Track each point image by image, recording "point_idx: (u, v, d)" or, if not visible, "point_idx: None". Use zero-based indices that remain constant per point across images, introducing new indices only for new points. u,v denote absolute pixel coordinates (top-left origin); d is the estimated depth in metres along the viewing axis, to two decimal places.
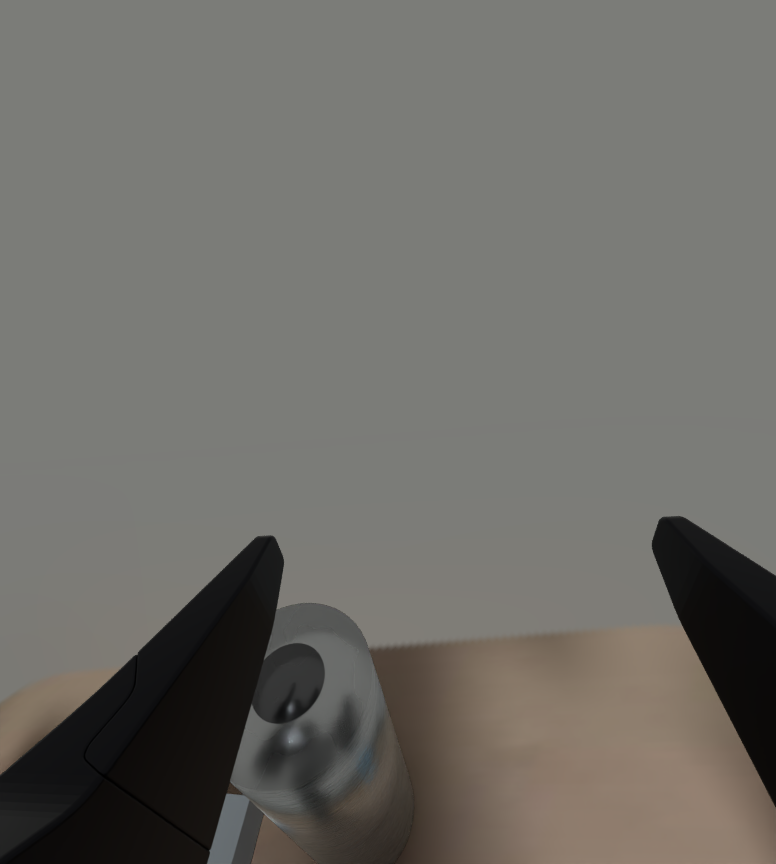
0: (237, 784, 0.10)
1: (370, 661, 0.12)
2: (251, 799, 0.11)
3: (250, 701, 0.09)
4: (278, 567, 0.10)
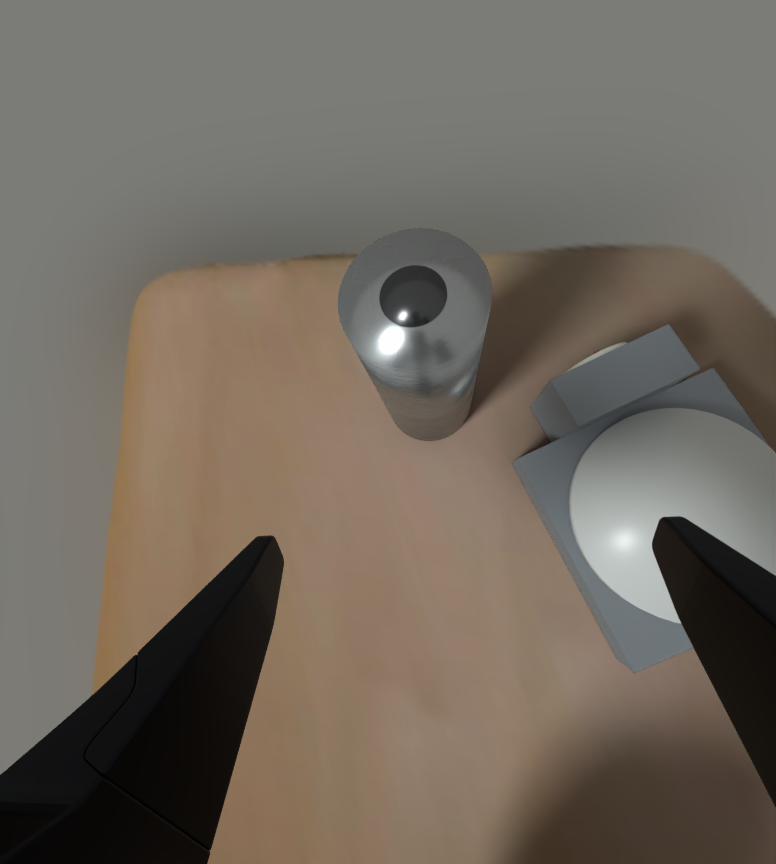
0: None
1: None
2: None
3: (250, 700, 0.09)
4: (278, 567, 0.10)
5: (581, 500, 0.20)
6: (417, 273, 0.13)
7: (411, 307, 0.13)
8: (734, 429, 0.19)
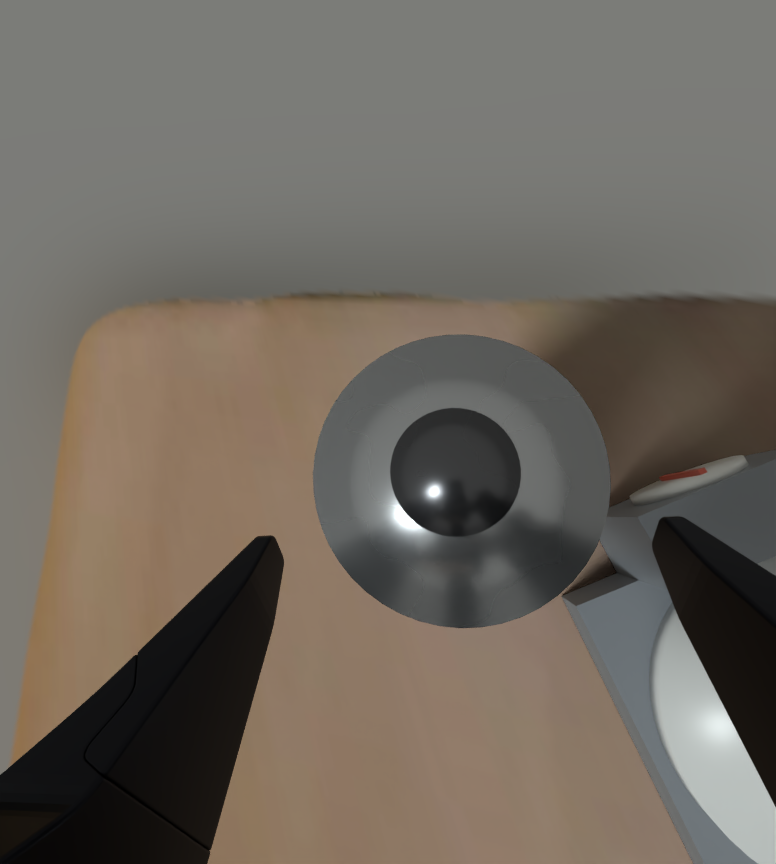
0: None
1: None
2: None
3: (250, 701, 0.09)
4: (278, 567, 0.10)
5: (674, 687, 0.14)
6: (463, 425, 0.07)
7: (450, 494, 0.07)
8: None
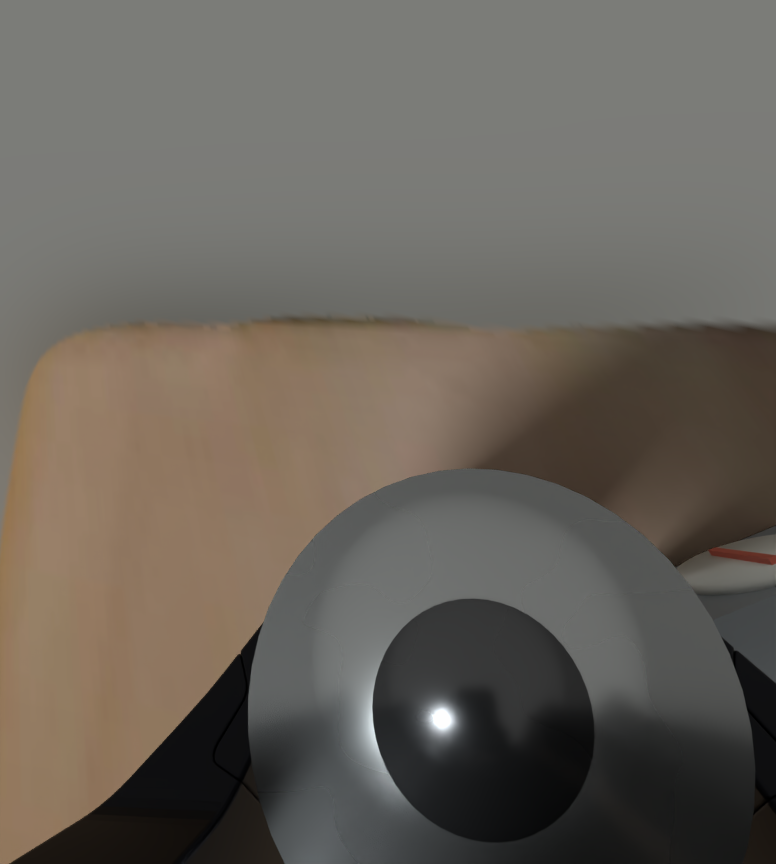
0: None
1: None
2: None
3: None
4: None
5: None
6: (493, 631, 0.04)
7: (472, 759, 0.04)
8: None
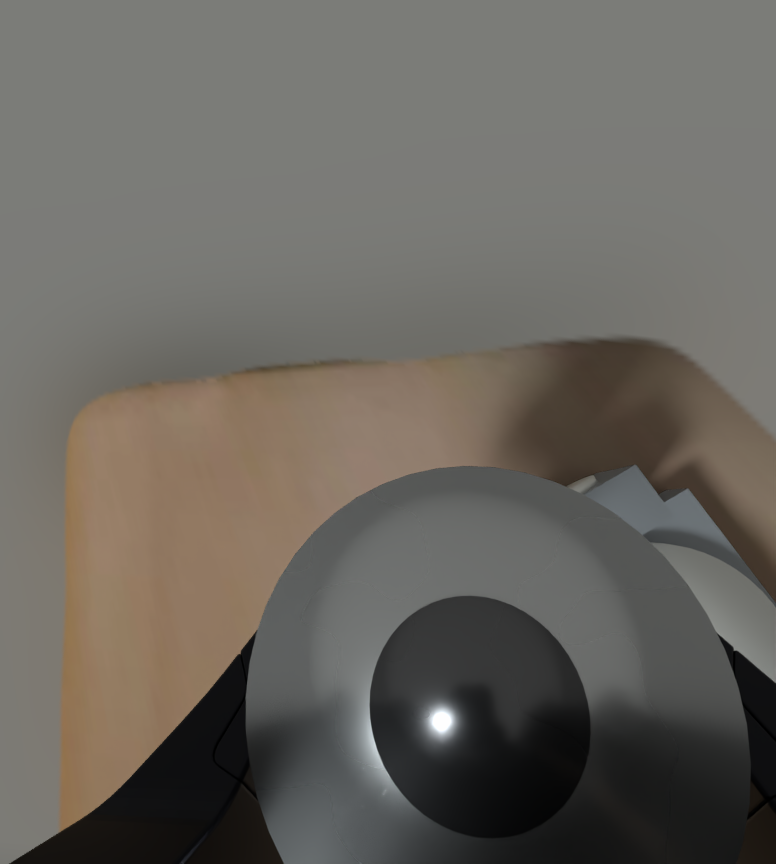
0: None
1: None
2: None
3: None
4: None
5: None
6: (491, 628, 0.04)
7: (469, 755, 0.04)
8: (716, 565, 0.18)
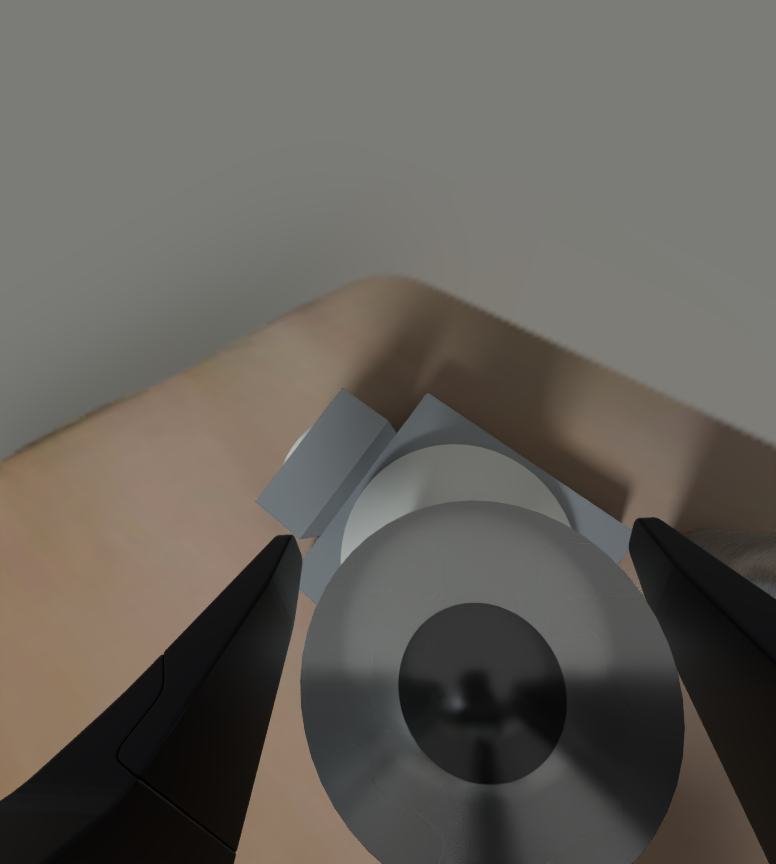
0: None
1: None
2: None
3: (273, 701, 0.09)
4: (297, 566, 0.10)
5: None
6: (491, 628, 0.06)
7: (476, 724, 0.05)
8: (463, 451, 0.18)
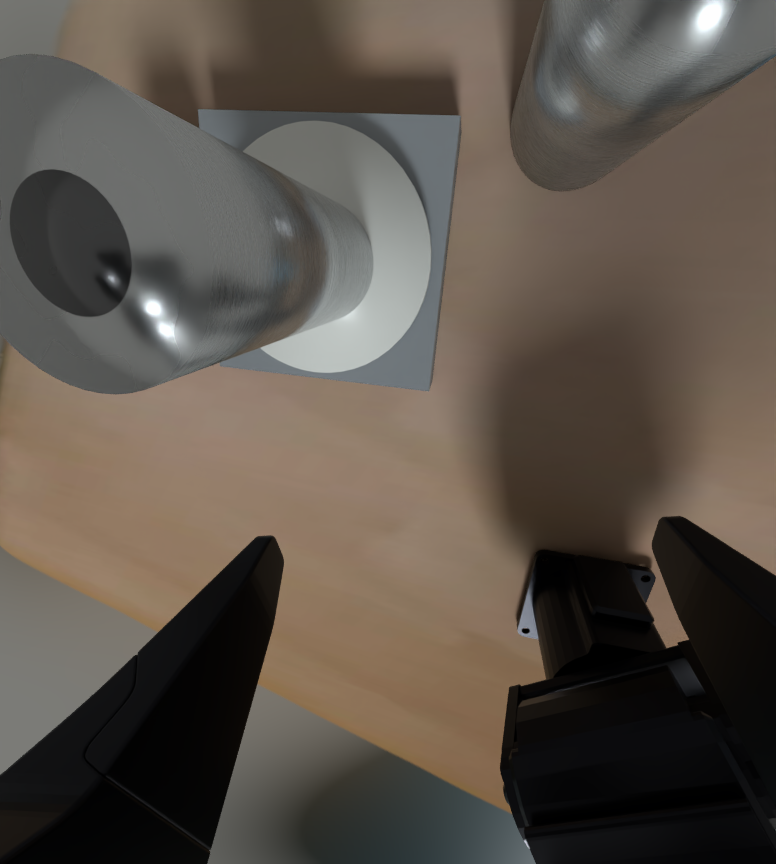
0: (675, 48, 0.07)
1: None
2: (642, 81, 0.08)
3: (250, 701, 0.09)
4: (278, 567, 0.10)
5: (268, 345, 0.19)
6: (43, 195, 0.06)
7: (84, 272, 0.07)
8: (260, 148, 0.16)
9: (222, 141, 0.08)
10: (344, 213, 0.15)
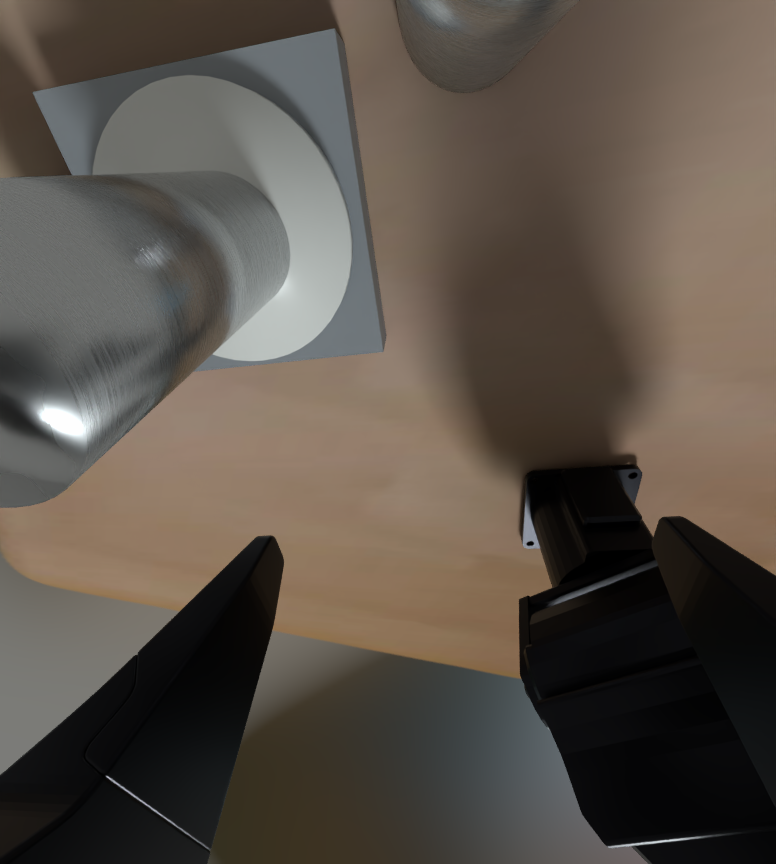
0: None
1: None
2: None
3: (250, 701, 0.09)
4: (278, 567, 0.10)
5: None
6: None
7: None
8: (118, 126, 0.14)
9: (40, 187, 0.07)
10: (233, 191, 0.13)
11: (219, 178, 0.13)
